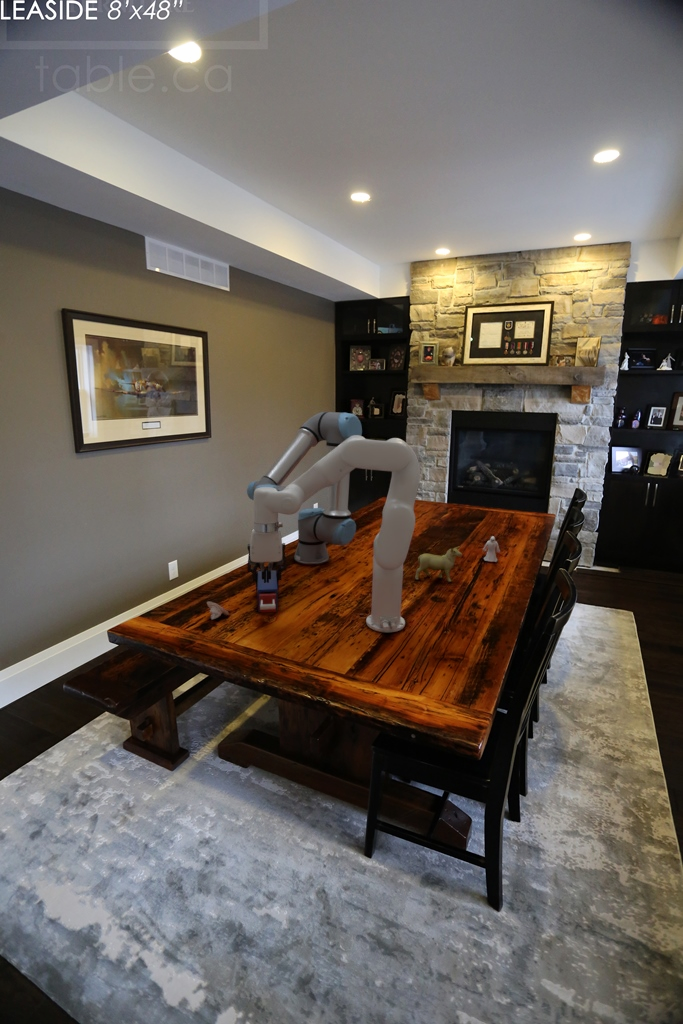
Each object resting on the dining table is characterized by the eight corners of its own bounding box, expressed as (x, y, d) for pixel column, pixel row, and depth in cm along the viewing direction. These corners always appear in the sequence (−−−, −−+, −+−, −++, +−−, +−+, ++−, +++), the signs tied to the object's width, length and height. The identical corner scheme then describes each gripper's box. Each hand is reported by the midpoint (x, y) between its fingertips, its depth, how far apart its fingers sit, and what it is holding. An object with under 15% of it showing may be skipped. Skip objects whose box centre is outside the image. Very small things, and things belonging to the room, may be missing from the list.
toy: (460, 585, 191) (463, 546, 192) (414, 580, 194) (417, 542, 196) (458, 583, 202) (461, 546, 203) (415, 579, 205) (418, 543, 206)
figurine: (481, 562, 222) (483, 536, 219) (482, 556, 230) (484, 531, 227) (499, 564, 220) (501, 538, 217) (499, 558, 228) (501, 533, 225)
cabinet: (277, 611, 171) (277, 589, 169) (257, 612, 170) (257, 589, 168) (276, 590, 188) (276, 570, 186) (258, 591, 186) (257, 571, 185)
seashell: (213, 627, 166) (197, 609, 165) (224, 617, 169) (208, 599, 168) (221, 623, 159) (205, 604, 159) (233, 612, 163) (217, 594, 162)
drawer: (276, 620, 162) (276, 602, 160) (259, 620, 161) (259, 603, 160) (275, 592, 184) (274, 576, 182) (259, 593, 183) (259, 577, 181)
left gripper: (293, 525, 183) (293, 583, 188) (238, 526, 180) (240, 585, 185) (294, 530, 176) (294, 591, 181) (237, 532, 173) (239, 594, 178)
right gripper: (289, 523, 162) (289, 576, 166) (242, 523, 159) (243, 577, 164) (290, 529, 155) (290, 585, 159) (241, 530, 152) (242, 586, 157)
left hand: (267, 588), depth 183 cm, fingers closed on cabinet, 7 cm apart
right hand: (266, 581), depth 161 cm, fingers closed
